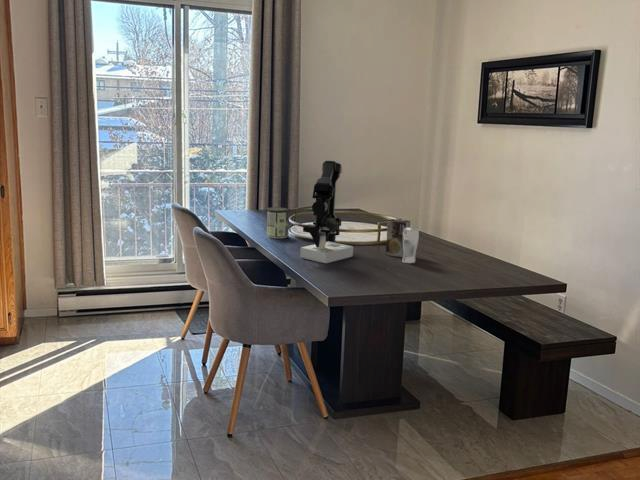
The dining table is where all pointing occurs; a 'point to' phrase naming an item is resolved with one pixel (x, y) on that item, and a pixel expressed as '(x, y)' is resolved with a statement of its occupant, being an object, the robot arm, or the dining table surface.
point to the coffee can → (277, 222)
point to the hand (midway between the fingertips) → (320, 246)
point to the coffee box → (395, 237)
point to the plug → (322, 242)
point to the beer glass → (410, 244)
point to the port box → (327, 252)
